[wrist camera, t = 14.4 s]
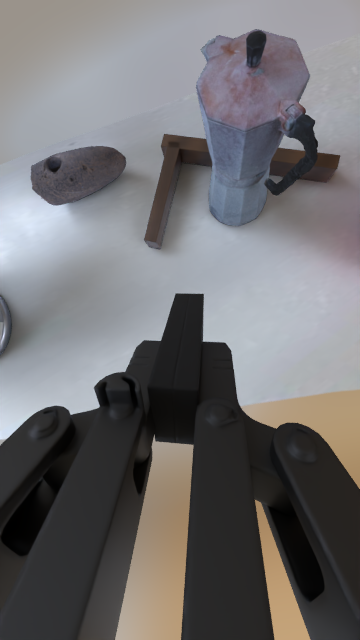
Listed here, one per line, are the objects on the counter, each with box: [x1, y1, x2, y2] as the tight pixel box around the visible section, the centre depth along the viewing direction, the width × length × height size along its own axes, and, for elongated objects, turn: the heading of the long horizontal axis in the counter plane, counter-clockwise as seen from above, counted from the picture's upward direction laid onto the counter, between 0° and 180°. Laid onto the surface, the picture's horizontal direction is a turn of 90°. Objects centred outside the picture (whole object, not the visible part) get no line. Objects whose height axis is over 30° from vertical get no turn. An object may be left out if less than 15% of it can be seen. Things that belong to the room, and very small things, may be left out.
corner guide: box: [144, 134, 340, 249], centre depth 35 cm, size 26×17×3 cm, turn 76°
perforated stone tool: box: [31, 146, 126, 205], centre depth 37 cm, size 15×5×7 cm, turn 107°
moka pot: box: [196, 29, 318, 225], centre depth 26 cm, size 10×15×20 cm, turn 43°
